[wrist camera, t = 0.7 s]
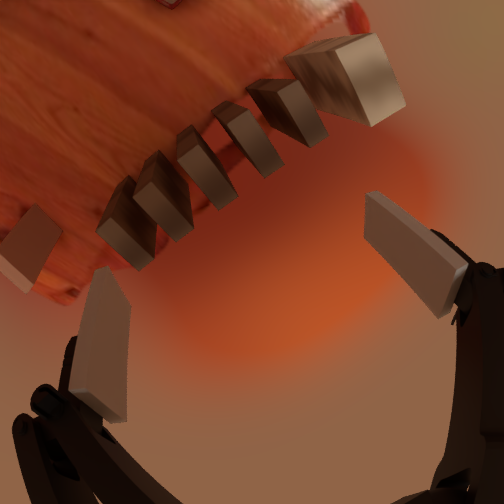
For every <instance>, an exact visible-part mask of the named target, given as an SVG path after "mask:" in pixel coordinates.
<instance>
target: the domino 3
mask: <svg viewBox="0 0 504 504" xmlns="http://www.w3.org/2000/svg"><path fill="white" fill-rule="evenodd" d="M132 198H133V199H134V200H135V201H136V202H137V203H138V204H139V205H140V206H141V207H142V208H143V209H144V210H145V211H146V212H147V213H148V214H149V215H150V216H151V217H152V219H153V220H154V221H155V222H156V223H157V224H158V225H159V226H160V227H161V228H162V229H163V230H164V231H165V232H166V233H167V234H168V235H169V236H170V237H171V238H172V239H173V240H174V241H175V242H177V241H178V240H179V239H181V238H182V237H184V236H185V235H186V234H188V233H189V232H190V231H192V230H193V229H194V225H193V217H192V210H191V202H190V194H189V186H188V183H187V182H186V181H185V180H184V179H183V177H182V176H181V175H180V174H179V173H178V172H177V170H176V169H175V168H174V167H173V166H172V164H171V163H170V162H169V161H168V160H167V159H166V157H165V156H164V155H163V154H162V153H161V151H160V150H158V151H157V152H155V153H154V154H153V155H152V156H151V157H149V158H148V159H147V160H146V161H145V163H144V166H143V168H142V171H141V174H140V177H139V179H138V182H137V185H136V188H135V191H134V194H133V197H132Z"/></svg>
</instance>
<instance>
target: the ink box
mask: <svg viewBox="0 0 504 504" xmlns="http://www.w3.org/2000/svg"><path fill="white" fill-rule="evenodd" d="M156 1H158V2H159V3H161V4H163V5H165V6H166V7H168V8H170V9H174V8H175V7H176V6H177V5H178V4H179V3H180V2H181V1H182V0H156Z"/></svg>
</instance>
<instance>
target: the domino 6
mask: <svg viewBox="0 0 504 504" xmlns="http://www.w3.org/2000/svg"><path fill="white" fill-rule="evenodd" d="M246 90H247V91H248V93H249V94H250V96H251V97H252V98H253V100H254V101H255V103H256V104H257V106H258V107H259V109H260V110H261V112H262V114H263V115H264V117H265V118H266V120H267V121H268V123H269V124H270V126H271V127H273V128H275V129H277V130H279V131H281V132H282V133H285V134H286V135H288V136H290V137H292V138H294V139H295V140H297V141H299V142H301V143H302V144H304V145H306V146H307V147H309V148H311V147H312V146H314V145H316V144H317V143H319V142H320V141H322V140H323V139H325V138H326V137H328V136H329V135H328V132H327V130H326V129H325V127H324V125H323V123H322V121H321V119H320V117H319V115H318V113H317V112H316V110H315V108H314V106H313V104H312V102H311V101H310V99H309V97H308V95H307V94H306V92H305V90H304V88H303V87H302V85H301V83H300V82H299V80H295V79H259V80H258V81H256V82H254V83H253V84H251V85H249V86H248V87H246Z"/></svg>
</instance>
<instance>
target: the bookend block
mask: <svg viewBox="0 0 504 504" xmlns="http://www.w3.org/2000/svg"><path fill="white" fill-rule="evenodd" d="M283 58H284V60H285V61H286V63H287V65H288V66H289V68H290V69H291V71H292V73H293V74H294V76H295V78H296V79H297V80H299V82H300V83H301V85H302V87H303V88H304V90H305V92H306V94H307V95H308V97H309V99H310V101H311V102H312V104H313V106H314V108H315V109H317V110H321V111H324V112H328V113H331V114H334V115H337V116H341V117H344V118H347V119H350V120H353V121H356V122H359V123H362V124H365V125H368V126H370V127H372V126H373V125H375V124H377V123H378V122H380V121H382V120H383V119H385V118H386V117H388V116H390V115H391V114H393V113H395V112H396V111H398V110H400V109H401V108H403V107H405V106H406V103H405V100H404V98H403V95H402V92H401V90H400V87H399V84H398V82H397V79H396V77H395V74H394V72H393V69H392V67H391V65H390V63H389V60H388V58H387V56H386V53H385V51H384V49H383V47H382V45H381V43H380V41H379V39H378V37H377V35H376V33H367V34H358V35H350V36H343V37H337V38H331V39H325V40H320V41H314V42H312V43H310V44H308V45H306V46H304V47H302V48H300V49H298V50H296V51H294V52H292V53H290V54H288V55H286V56H285V57H283Z"/></svg>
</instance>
